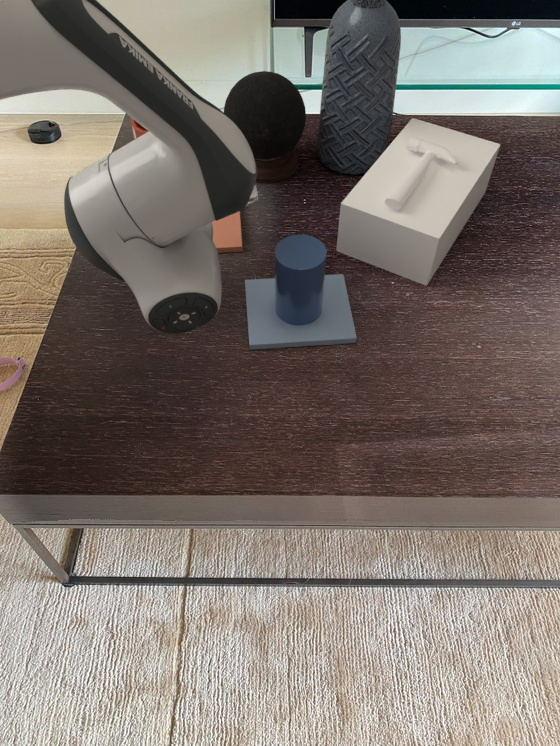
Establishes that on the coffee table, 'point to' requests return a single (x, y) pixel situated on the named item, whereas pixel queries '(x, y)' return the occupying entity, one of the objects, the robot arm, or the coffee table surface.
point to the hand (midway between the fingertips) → (162, 147)
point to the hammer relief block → (416, 200)
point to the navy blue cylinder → (299, 279)
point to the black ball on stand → (268, 122)
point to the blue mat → (279, 334)
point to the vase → (358, 85)
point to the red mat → (228, 234)
